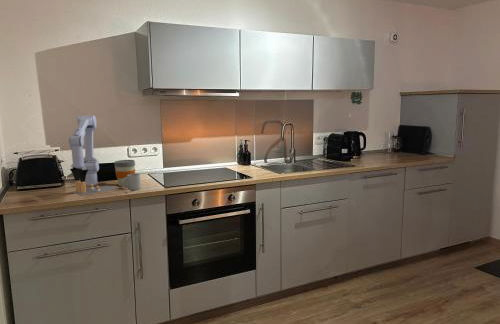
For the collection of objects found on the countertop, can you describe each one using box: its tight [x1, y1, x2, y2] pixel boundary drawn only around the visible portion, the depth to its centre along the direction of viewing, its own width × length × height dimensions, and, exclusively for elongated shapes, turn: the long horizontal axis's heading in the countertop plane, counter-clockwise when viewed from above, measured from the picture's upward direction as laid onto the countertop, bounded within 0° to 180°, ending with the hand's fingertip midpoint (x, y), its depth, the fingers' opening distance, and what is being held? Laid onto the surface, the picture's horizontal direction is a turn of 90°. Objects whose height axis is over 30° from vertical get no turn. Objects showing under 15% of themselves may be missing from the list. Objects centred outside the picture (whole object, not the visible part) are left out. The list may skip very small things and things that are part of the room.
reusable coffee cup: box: [114, 159, 136, 187], centre depth 233 cm, size 13×13×15 cm
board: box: [71, 184, 119, 197], centre depth 213 cm, size 14×22×4 cm, turn 137°
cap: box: [74, 180, 87, 193], centre depth 209 cm, size 5×5×6 cm
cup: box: [122, 173, 142, 192], centre depth 219 cm, size 7×10×9 cm
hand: (80, 181), depth 208 cm, fingers open, 7 cm apart
